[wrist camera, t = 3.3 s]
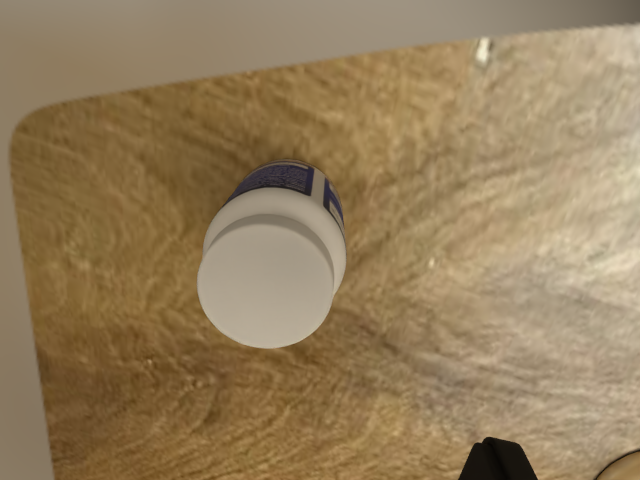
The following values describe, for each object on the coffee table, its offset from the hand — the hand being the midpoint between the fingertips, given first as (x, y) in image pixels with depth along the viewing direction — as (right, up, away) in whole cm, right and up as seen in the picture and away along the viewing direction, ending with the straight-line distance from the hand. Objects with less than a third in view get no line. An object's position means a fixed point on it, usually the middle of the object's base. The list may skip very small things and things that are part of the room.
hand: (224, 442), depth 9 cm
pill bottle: (0, +5, +17) cm, 18 cm away
